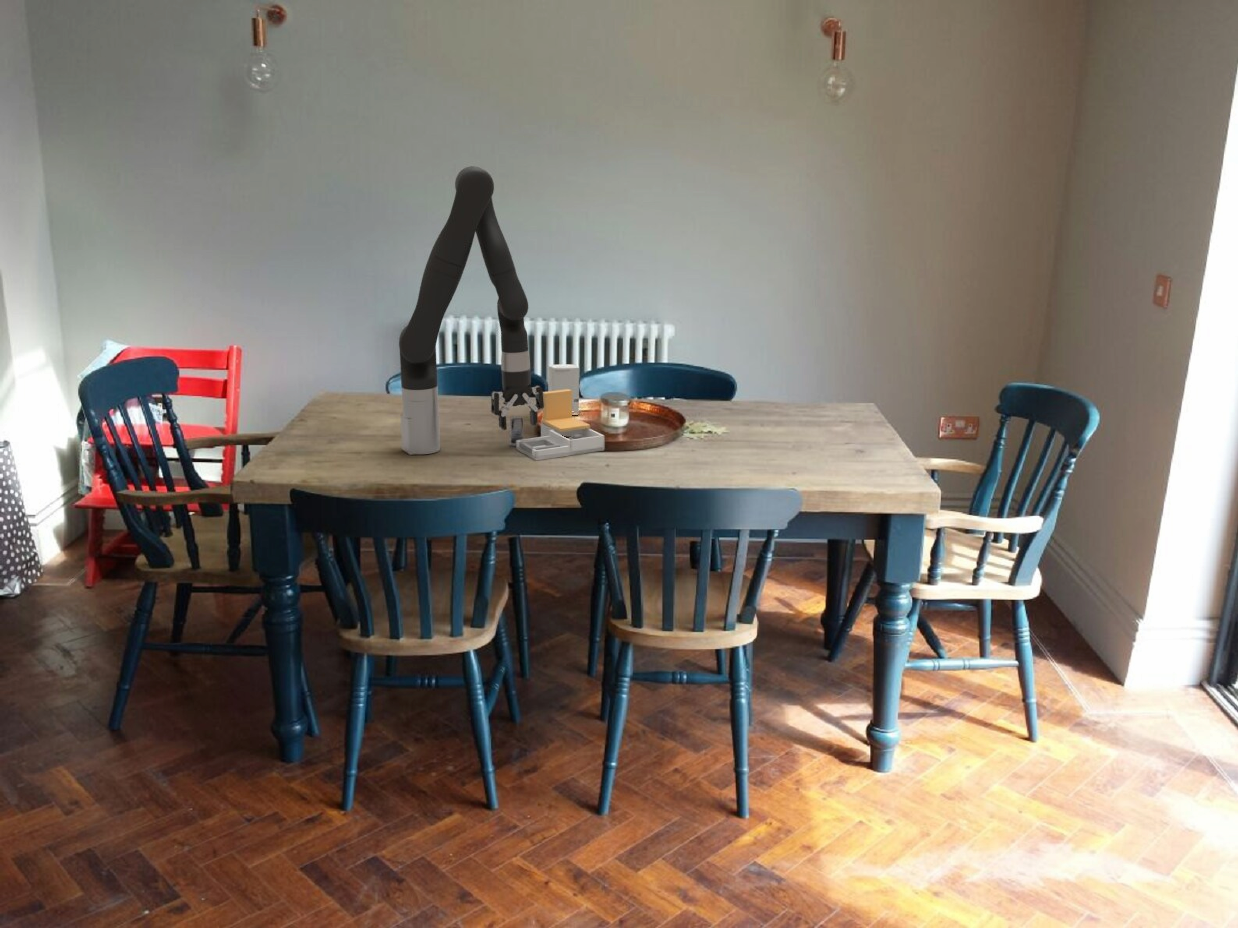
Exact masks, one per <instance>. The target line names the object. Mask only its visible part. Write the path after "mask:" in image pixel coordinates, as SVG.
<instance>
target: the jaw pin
mask: <svg viewBox="0 0 1238 928" xmlns="http://www.w3.org/2000/svg"><path fill="white" fill-rule="evenodd" d="M523 419H524V418H523V416H515V415H514V416H511V417H509V430H510V431H509V433H510V434H509V435H510V437H509V438H510V440H509V442H508V443H509V447H512V448H516V440H522V439H524V420H523Z"/></svg>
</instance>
